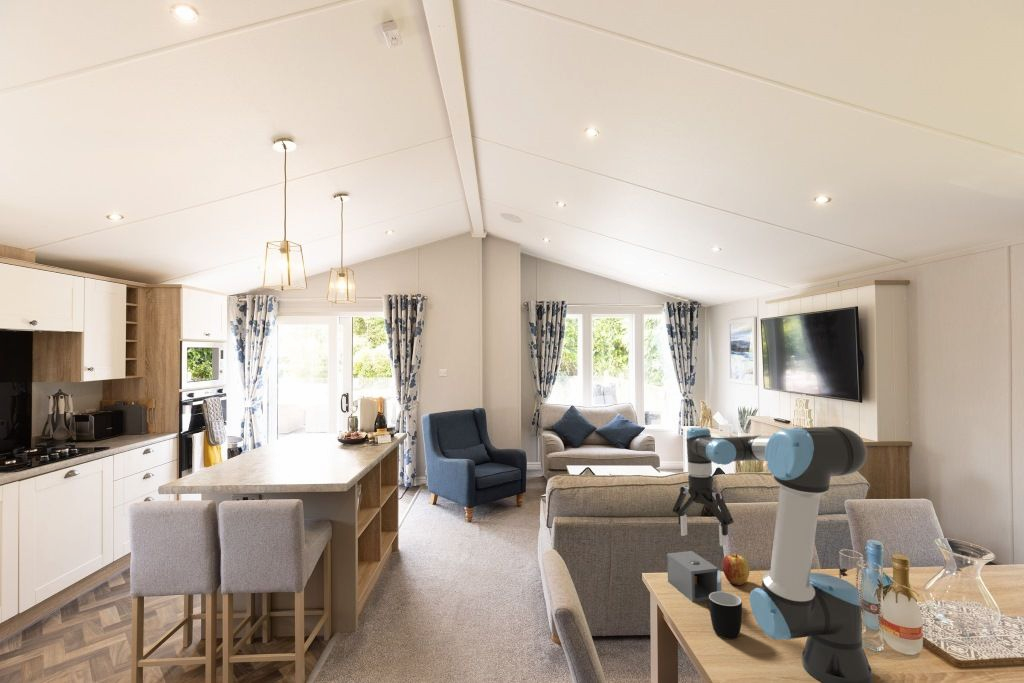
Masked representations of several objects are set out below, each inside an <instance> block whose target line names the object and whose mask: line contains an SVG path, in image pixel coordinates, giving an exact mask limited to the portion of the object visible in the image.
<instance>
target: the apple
mask: <svg viewBox="0 0 1024 683" xmlns="http://www.w3.org/2000/svg"><path fill="white" fill-rule="evenodd" d="M721 566H722V571H723V573H724V576H725V578H726V580H727V581H728V582H729V583H731V584H732V585H735V586H742V585H744V584H746V582H747V580H748V578H749V577H750V566H749V563H748V561H747V560H746V559H745V558H744V557H743V556H741V555H739V554H735V553H731V554H727V555H725V556H724V557H723V560H722V564H721Z"/></svg>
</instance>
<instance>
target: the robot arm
mask: <svg viewBox="0 0 1024 683" xmlns="http://www.w3.org/2000/svg"><path fill="white" fill-rule="evenodd" d="M685 441H686V453H687V456H686V457H687V473H688V476H687V477H688V478H687V479H688V486H689V487H688V486H687V485H684V486H681V487H680V488H679V495H678V497H677V499H676V501H675V503H674V505H673V508H672V512H673V513H675V514H676V515H677V516H678V518H677V519H678V520H677V521H678V525H680V536H682V537H684V536H686V535H688V518H687V516H688V515H687V514H686V512H687V511H688V510H689V509H690V508H691V507H692V505H693V504H694V503H695V504H701V505H706V507H707V508H709V509H710V510H711V512H712V514H713V515H714V517H716V520H718V522H719V523H720V524H718V531H719V532H718V535H719V536H718V538H719V539H718V540H719V546H720V547H723V546H725V545H727V537H726V536H727V535H729V526H728V525H731V524H734V522H735V521H734V519H733V517H732V514H731V511H730V510H729V508H728V506H727V503H726V502H725V500H724V496H723V492H721V491H719V492H714V491H713V487H714V486H713V483H714V482H713V476H712V474H713V464H712V463H714V464H717V465H722V466H723V465H725V466H726V465H729V464H731V463H732V462H744V461H745V462H746V461H759V462H767V463H766V467H767V470H769V471H768V472H770V473H771V474H772V476H773V480H774V481H775V482H776V483H777V485H778V486H779V490H778V498H777V499H778V500H777V506H776V507H777V508H776V516H775V525H774V526H775V528H774V536H773V543H772V553H771V559H770V560H771V561H770V569H769V570H767V571H766V572H765V573H763V576H762V580H761V581H762V582H761V587H755V588H754V589H752V590H750V594H749V604H750V608H751V611H752V612H751V613H752V615H753V618H754V620H755V622H756V623H757V625H758V626H759V628H760V629H761V630H762V632H763V633H764V634H765V635H766V636H768V637H769V638H770V639H772V640H776V641H778V640H780V641H781V640H782V641H783V640H784V641H785V640H786V641H790V640H795V639H801V638H807V639H806V641H805V646H804V649H803V650H802V653H801V659H802V660H801V662H802V666H803V668H804V670H805V671H806V672H807V673H808V674H809V675H811V677H813V678H814V679H816V680H818V681H820V682H821V683H874V681H873V680H874V678H873V670H872V667H871V665H870V664H869V661H868V657H867V654H866V652H865V650H864V647H863V633H862V632H863V631H862V630H863V629H862V628H863V627H862V603H861V596H860V591H859V589H858V588H857V586H855V585H854V584H853V583H851V582H849V581H847V580H845V579H843V578H840V577H837V576H834V575H832V574H831V575H830V574H827V573H820V572H811V571H812V563H813V562H812V561H813V555H814V549H815V539H816V532H817V525H818V517H819V516H818V515H819V509H820V501H821V496H822V495H824V494H826V493H827V492H829V489H830V484H831V477H839V476H847V475H851V474H854V473H855V472H858V471H860V469H861V468H862V467H863V466H864V465H865V463H866V460H867V459H868V458H867V457H868V450H867V449H868V448H867V446H866V443H865V441H864V440H863V438H862V437H861V436H860V435H859V434H858V433H856V432H854V430H851V429H849V428H846V427H843V426H816V427H789V428H785V429H780V430H778V431H776V432H775V433H773V434H771V435H749V436H731V437H730V436H729V437H726V436H725V437H714V436H712V435H711V431H710V429H709V428H708V427H707V428H706V427H690V428H688V429H687V430H686V438H685ZM687 494H689V495H690V497H688V499H687V501H686V502H685V503H684V501H685V499H686V496H687ZM683 503H684V504H683Z"/></svg>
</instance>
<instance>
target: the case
mask: <svg viewBox="0 0 1024 683" xmlns="http://www.w3.org/2000/svg"><path fill="white" fill-rule="evenodd" d="M666 564H667V566H666V568H667V582H668V583H669V584H670V585H671V586H673V587H674V588H675V589H676V590H677V591H679V592H680V593H681V594H682V595H683V596H684V597H686V598H687V599H688V600H689V601H691V602H692V603H694V602H696V603H697V602H702V601H703V602H704V601H708V600H709V595H710V594H711V593H713V592H717V574H718V570H719V568H718V567H717V566H715V565H714V564H713V563H712V562H709V561H708V560H706V559H705V558H703V557H702V556H701V555H699V554H697V553H695V552H694V551H693V550H689V551H687V550H686V551H678V552H669V553H668V552H667V554H666Z"/></svg>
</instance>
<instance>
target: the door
mask: <svg viewBox="0 0 1024 683" xmlns="http://www.w3.org/2000/svg"><path fill="white" fill-rule="evenodd" d="M717 592H723V589H722V570H720V569H718V574H717Z"/></svg>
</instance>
